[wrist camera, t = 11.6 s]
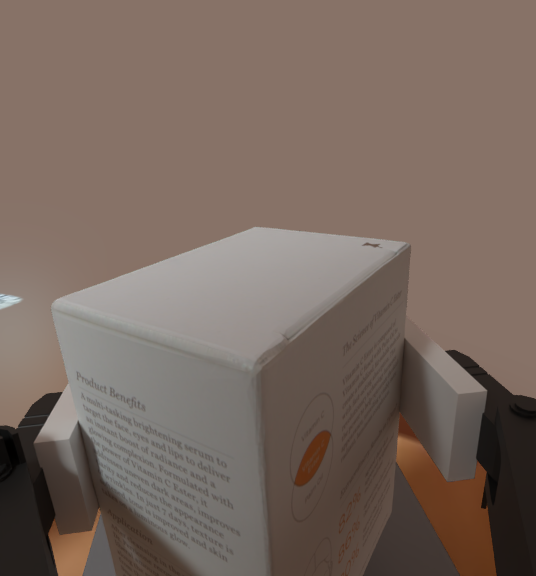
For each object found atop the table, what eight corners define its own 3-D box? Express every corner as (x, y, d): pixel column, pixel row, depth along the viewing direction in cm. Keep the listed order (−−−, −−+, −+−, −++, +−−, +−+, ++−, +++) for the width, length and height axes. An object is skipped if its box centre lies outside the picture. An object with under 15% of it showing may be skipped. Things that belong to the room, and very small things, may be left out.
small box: (269, 460, 19) (256, 223, 15) (396, 515, 16) (416, 237, 12) (120, 628, 13) (39, 296, 9) (281, 771, 10) (254, 358, 6)
